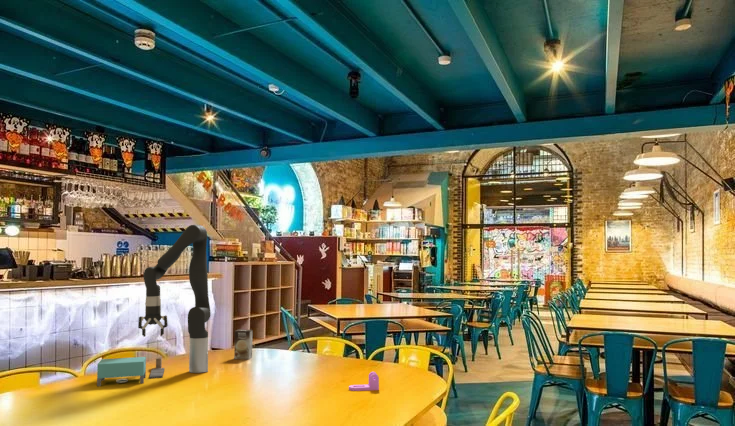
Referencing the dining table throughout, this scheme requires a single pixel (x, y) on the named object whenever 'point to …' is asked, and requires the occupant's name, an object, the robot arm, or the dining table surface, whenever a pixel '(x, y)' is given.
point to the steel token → (121, 380)
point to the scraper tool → (157, 369)
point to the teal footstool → (121, 368)
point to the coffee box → (243, 344)
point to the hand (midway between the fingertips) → (152, 336)
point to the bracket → (371, 386)
